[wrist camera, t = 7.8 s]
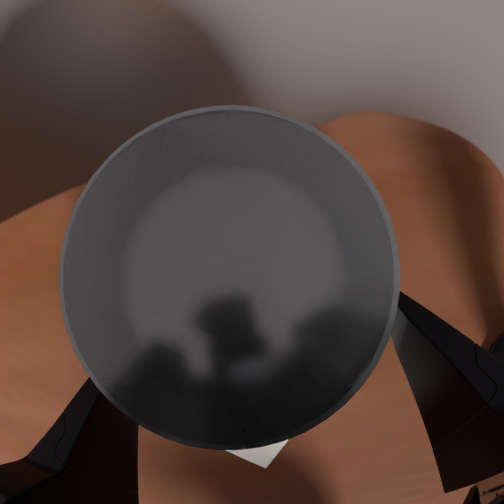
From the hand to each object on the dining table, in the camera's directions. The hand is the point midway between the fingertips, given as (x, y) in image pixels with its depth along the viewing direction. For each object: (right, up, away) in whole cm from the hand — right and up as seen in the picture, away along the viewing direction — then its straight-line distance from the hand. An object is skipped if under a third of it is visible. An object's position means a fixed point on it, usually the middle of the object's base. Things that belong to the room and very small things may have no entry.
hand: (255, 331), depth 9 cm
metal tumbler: (0, 0, +9) cm, 9 cm away
